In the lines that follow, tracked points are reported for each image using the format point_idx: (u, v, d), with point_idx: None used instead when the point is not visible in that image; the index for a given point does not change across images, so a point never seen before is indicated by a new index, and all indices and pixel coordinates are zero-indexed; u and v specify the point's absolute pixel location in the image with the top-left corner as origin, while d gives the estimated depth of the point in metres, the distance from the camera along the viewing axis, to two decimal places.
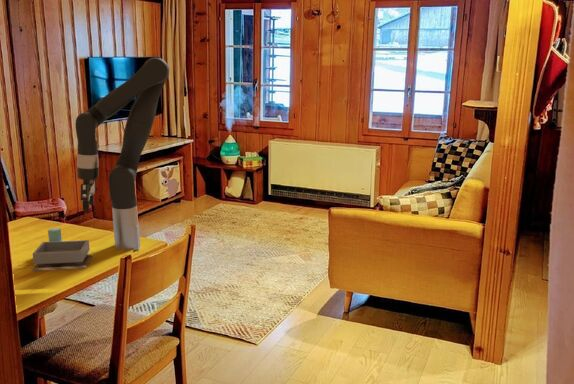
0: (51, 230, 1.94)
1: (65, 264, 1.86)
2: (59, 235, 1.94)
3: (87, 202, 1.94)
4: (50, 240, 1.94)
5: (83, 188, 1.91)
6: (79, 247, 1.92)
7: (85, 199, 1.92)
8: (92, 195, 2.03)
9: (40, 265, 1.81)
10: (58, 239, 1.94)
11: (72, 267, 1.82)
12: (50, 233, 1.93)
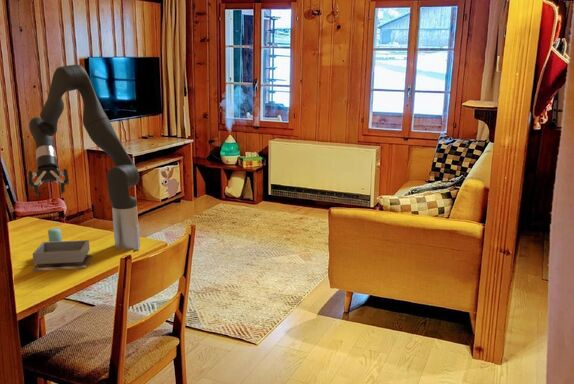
0: (51, 230, 1.94)
1: (65, 264, 1.86)
2: (59, 235, 1.94)
3: (35, 186, 2.01)
4: (50, 240, 1.94)
5: None
6: (79, 247, 1.92)
7: (29, 184, 2.01)
8: (60, 184, 2.05)
9: (40, 265, 1.81)
10: (58, 239, 1.94)
11: (72, 267, 1.82)
12: (50, 233, 1.93)
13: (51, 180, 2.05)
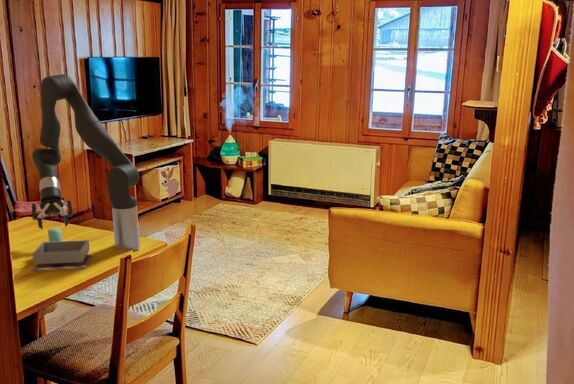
0: (51, 230, 1.94)
1: (65, 264, 1.86)
2: (59, 235, 1.94)
3: (38, 219, 1.98)
4: (50, 240, 1.94)
5: (32, 208, 2.01)
6: (79, 247, 1.92)
7: None
8: (64, 216, 2.02)
9: (40, 265, 1.81)
10: (58, 239, 1.94)
11: (72, 267, 1.82)
12: (50, 233, 1.93)
13: (55, 212, 2.02)
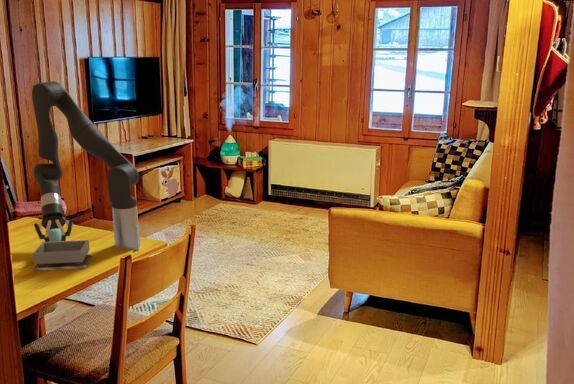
0: (51, 230, 1.94)
1: (65, 264, 1.86)
2: (59, 235, 1.94)
3: (45, 239, 1.94)
4: (50, 240, 1.94)
5: (35, 228, 1.96)
6: (79, 247, 1.92)
7: None
8: (61, 236, 1.96)
9: (40, 265, 1.81)
10: (58, 239, 1.94)
11: (72, 267, 1.82)
12: (50, 233, 1.93)
13: None
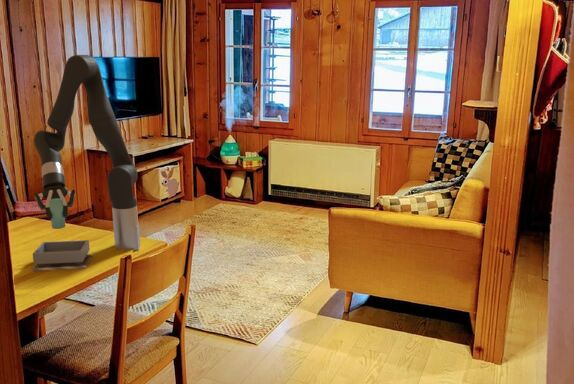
0: (52, 200, 1.84)
1: (65, 264, 1.86)
2: (61, 205, 1.84)
3: (46, 209, 1.83)
4: (51, 210, 1.83)
5: (35, 198, 1.85)
6: (79, 247, 1.92)
7: (40, 206, 1.83)
8: None
9: (40, 265, 1.81)
10: (60, 209, 1.83)
11: (72, 267, 1.82)
12: (51, 203, 1.82)
13: None
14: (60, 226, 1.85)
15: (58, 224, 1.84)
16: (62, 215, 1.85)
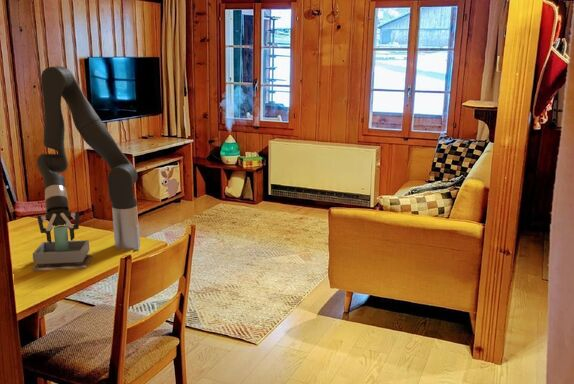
0: (57, 227, 1.84)
1: (65, 264, 1.86)
2: (65, 233, 1.84)
3: (47, 233, 1.83)
4: (56, 238, 1.83)
5: (38, 221, 1.85)
6: (79, 247, 1.92)
7: None
8: (70, 229, 1.86)
9: (40, 265, 1.81)
10: (64, 237, 1.84)
11: (72, 267, 1.82)
12: (56, 230, 1.82)
13: (60, 223, 1.87)
14: None
15: (62, 251, 1.84)
16: (66, 243, 1.85)
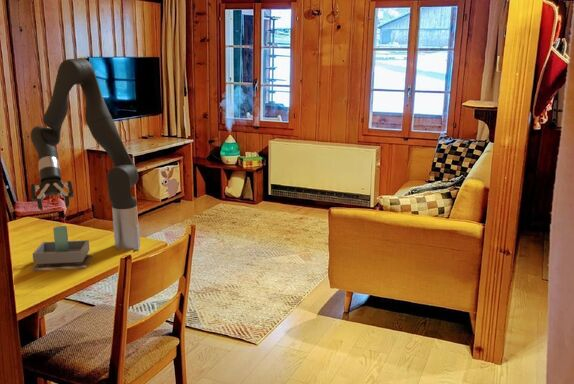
0: (56, 228, 1.84)
1: (65, 264, 1.86)
2: (65, 233, 1.84)
3: (38, 200, 1.91)
4: (55, 238, 1.83)
5: None
6: (79, 247, 1.92)
7: None
8: (65, 197, 1.95)
9: (40, 265, 1.81)
10: (64, 237, 1.84)
11: (72, 267, 1.82)
12: (55, 231, 1.82)
13: (55, 193, 1.95)
14: None
15: (62, 251, 1.84)
16: (66, 243, 1.85)
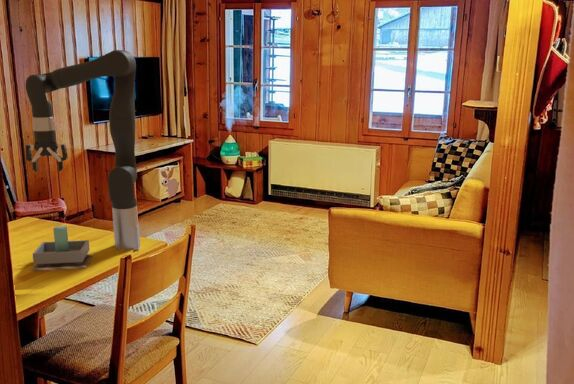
0: (57, 228, 1.84)
1: (65, 264, 1.86)
2: (65, 233, 1.84)
3: (33, 163, 1.98)
4: (56, 238, 1.83)
5: None
6: (79, 247, 1.92)
7: None
8: (58, 162, 1.99)
9: (40, 265, 1.81)
10: (64, 237, 1.84)
11: (72, 267, 1.82)
12: (56, 231, 1.82)
13: None
14: None
15: (62, 251, 1.84)
16: (66, 243, 1.85)
